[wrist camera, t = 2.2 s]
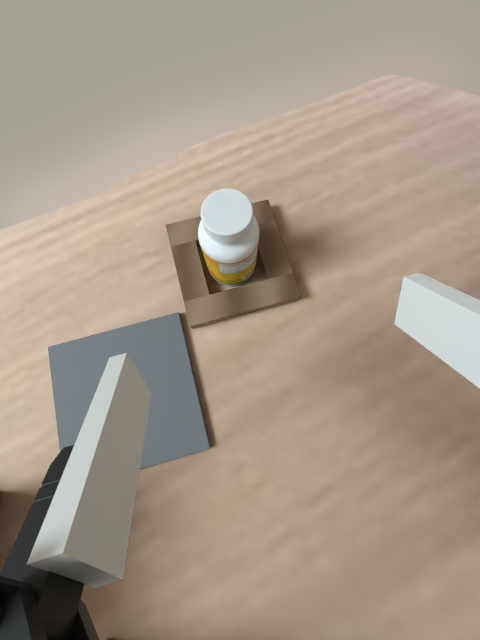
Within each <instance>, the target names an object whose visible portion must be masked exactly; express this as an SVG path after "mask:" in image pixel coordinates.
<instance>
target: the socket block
mask: <svg viewBox="0 0 480 640" xmlns="http://www.w3.org/2000/svg"><path fill="white" fill-rule="evenodd" d="M252 207H253V215H254V217H255V219H256V220H257V223H258V226H259V243H258V250H257V253H258V256H259V260H260V263H261V266H262V269H263V272H264V276H265V279H266V280H264V281H260V282H256V283H252V284H248V285H245V286H241V287H237V288H233V289H229V290H226V291H222V292H218V293H214V294H211V295H210V293H209V289H208V285H207V281H206V277H205V273H204V270H203V266H202V262H201V258H200V254H199V250H198V246H200V243H199V239H198V227H199V224H200V221H201V216H200V217H196V218H192V219H188V220H184V221H180V222H176V223H172V224H167V225H166V228H167V232H168V236H169V240H170V245H171V249H172V253H173V257H174V261H175V266H176V270H177V274H178V278H179V283H180V287H181V291H182V295H183V299H184V304H185V308H186V312H187V316H188V320H189V325H190V327H191V328H197V327H200V326H204V325H208V324H211V323H215V322H219V321H223V320H226V319H230V318H234V317H237V316H241V315H245V314H248V313H252V312H256V311H260V310H263V309H267V308H271V307H274V306H278V305H282V304H285V303H289V302H293V301H297V300H298V299H299V298H300V297H301V295H300V292H299V289H298V286H297V283H296V280H295V277H294V274H293V271H292V268H291V265H290V262H289V259H288V256H287V254H286V251H285V248H284V245H283V242H282V239H281V236H280V233H279V230H278V227H277V224H276V221H275V218H274V215H273V212H272V209H271V206H270V203H269V200H264V201H260V202H256V203H252Z"/></svg>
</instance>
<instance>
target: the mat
mask: <svg viewBox="0 0 480 640" xmlns="http://www.w3.org/2000/svg"><path fill="white" fill-rule="evenodd" d="M48 352H49V360H50V369H51V377H52V386H53V394H54V403H55V411H56V420H57V428H58V437H59V445H60V452H61V450H62V449H63V448H64V447H68V446H71V445H75V442H76V440H77V437H78V435H79V432H80V430H81V427H82V425H83V422H84V420H85V417H86V415H87V412H88V410H89V407H90V405H91V402H92V400H93V397H94V395H95V392H96V390H97V387H98V385H99V382H100V380H101V377H102V375H103V372H104V370H105V367H106V365H107V362H108V360H109V357H113V356H117V355H120V354H124V353H127V354H128V356H129V357H130V359H131V360H132V362H133V364H134V365H135V367H136V368H137V370H138V372H139V373H140V375H141V376H142V378H143V380H144V381H145V383H146V385H147V386H148V388H149V389H150V391H151V400H150V406H149V413H148V419H147V426H146V433H145V439H144V446H143V452H142V459H141V465H140V469H143V468H146V467H149V466H153V465H156V464H159V463H163V462H166V461H170V460H173V459H176V458H180V457H183V456H187V455H190V454H193V453H197V452H200V451H204V450H207V449H210V443H209V438H208V434H207V430H206V425H205V421H204V417H203V412H202V408H201V404H200V399H199V395H198V391H197V387H196V382H195V378H194V374H193V369H192V365H191V361H190V356H189V352H188V348H187V343H186V339H185V335H184V330H183V326H182V322H181V317H180V314H179V313H174V314H170V315H167V316H163V317H159V318H155V319H152V320H148V321H144V322H140V323H137V324H133V325H129V326H125V327H122V328H118V329H114V330H110V331H107V332H103V333H99V334H95V335H92V336H88V337H84V338H80V339H77V340H73V341H69V342H65V343H62V344H58V345H54V346H50V347H48Z"/></svg>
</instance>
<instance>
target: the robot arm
mask: <svg viewBox="0 0 480 640" xmlns="http://www.w3.org/2000/svg"><path fill="white" fill-rule="evenodd" d="M394 324H395V325H396V326H398V327H399V328H400V329H402V330H403V331H404V332H406V333H407V334H408V335H410V336H411V337H412V338H414V339H415V340H416V341H417V342H419V343H420V344H421V345H423V346H424V347H425V348H427V349H428V350H429V351H431V352H432V353H433V354H435V355H436V356H437V357H439V358H440V359H441V360H443V361H444V362H445V363H447V364H448V365H449V366H451V367H452V368H453V369H455V370H456V371H457V372H459V373H460V374H461V375H462V376H464V377H465V378H466V379H468V380H469V381H470V382H472V383H473V384H474V385H476V386H477V387H478V388H480V300H478V299H476V298H474V297H472V296H469V295H467V294H465V293H463V292H461V291H458V290H456V289H454V288H452V287H450V286H447V285H445V284H443V283H441V282H439V281H437V280H434V279H432V278H430V277H428V276H426V275H423V274H421V273H416V274H412V275H408V276H405V277H404V279H403V284H402V288H401V293H400V298H399V303H398V308H397V313H396V318H395V323H394ZM150 400H151V391H150V389H149V388H148V386H147V385H146V383H145V381H144V380H143V378H142V376H141V375H140V373H139V372H138V370H137V368H136V367H135V365H134V364H133V362H132V360H131V359H130V357H129V356H128V354H127V353H124V354H120V355H117V356H113V357H109V360H108V362H107V365H106V367H105V370H104V372H103V375H102V377H101V380H100V382H99V385H98V387H97V390H96V392H95V395H94V397H93V400H92V402H91V405H90V407H89V410H88V412H87V415H86V417H85V420H84V422H83V425H82V427H81V430H80V432H79V435H78V437H77V440H76V442H75V445H71V446H68V447H64V448H63V449H62V450H61V452H60V453H59V454H58V456H57V457H56V458H55V460H54V461H53V462H52V464H51V465H50V467H49V469H48V471H47V474H46V476H45V478H44V480H43V482H42V487H41V488H40V489H39V491H38V493H37V496H36V498H35V503H34V504H32V507H31V509H30V511H29V513H28V515H27V518H26V520H25V522H24V524H23V526H22V529H21V531H20V533H19V535H18V537H17V540H16V542H15V544H14V546H13V548H12V551H11V553H10V555H9V557H8V559H7V562H6V564H5V566H4V568H3V570H2V572H1V574H0V640H99V638H98V636H97V633H96V631H95V628H94V626H93V623H92V621H91V618H90V616H89V613H88V611H87V608H86V606H85V604H84V603H83V602H82V600H81V599H80V598H81V594H82V590H83V586H84V585H87V586H90V587H93V588H99V587H102V586H105V585H108V584H111V583H114V582H117V581H121V580H123V577H124V570H125V564H126V557H127V551H128V544H129V537H130V531H131V524H132V518H133V511H134V505H135V498H136V492H137V485H138V478H139V472H140V465H141V459H142V452H143V446H144V439H145V433H146V426H147V419H148V413H149V406H150Z"/></svg>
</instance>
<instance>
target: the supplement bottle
mask: <svg viewBox="0 0 480 640" xmlns="http://www.w3.org/2000/svg"><path fill="white" fill-rule="evenodd" d="M198 239H199V243H200V246H201V249H202V252H203V255H204V258H205V261H206V264H207V267H208V270H209V272H210V274H211V276H212V277H213V278H214V279H215V280H216V281H217V282H218V283H220V284H223V285H226V286H237V285H240V284H243V283H244V282H246V281H247V280H248V279H249V278H250V277H251V276H252V274H253V272H254V269H255V265H256V258H257V250H258V243H259V226H258V223H257V220H256V219H255V217H254V215H253V207H252V204H251V202H250V200H249V199H248V197H247V196H246V195H245V194H243V193H242V192H240V191H238V190H235V189H229V188H225V189H220V190H217V191H214V192H213V193H211V194H210V195H209V196H208V197H207V198H206V199H205V200H204V202H203V204H202V207H201V221H200V224H199V227H198Z"/></svg>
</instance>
